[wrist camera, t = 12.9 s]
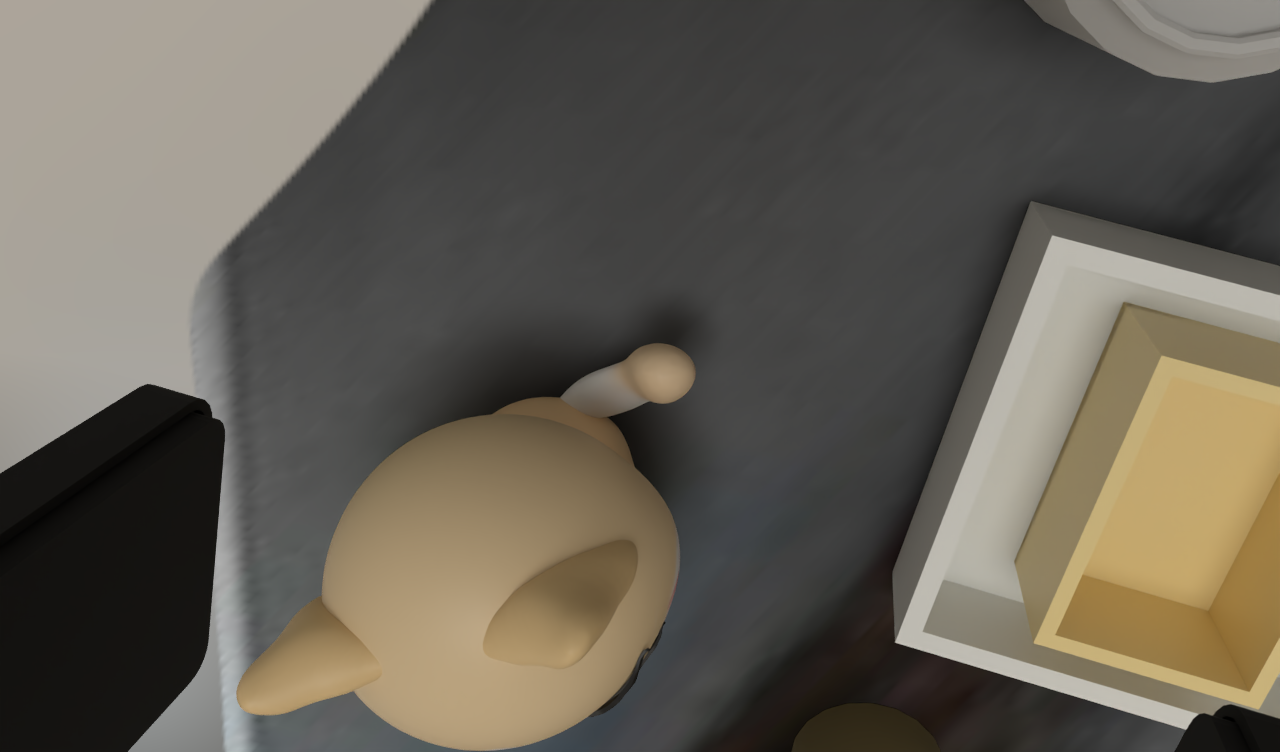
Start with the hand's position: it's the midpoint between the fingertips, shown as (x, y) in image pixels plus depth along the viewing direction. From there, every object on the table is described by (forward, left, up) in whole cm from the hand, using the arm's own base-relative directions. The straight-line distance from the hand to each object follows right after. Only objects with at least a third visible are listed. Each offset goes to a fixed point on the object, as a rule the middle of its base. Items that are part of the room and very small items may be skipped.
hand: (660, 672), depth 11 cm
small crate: (+7, +15, -28) cm, 32 cm away
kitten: (+14, -6, -28) cm, 32 cm away
